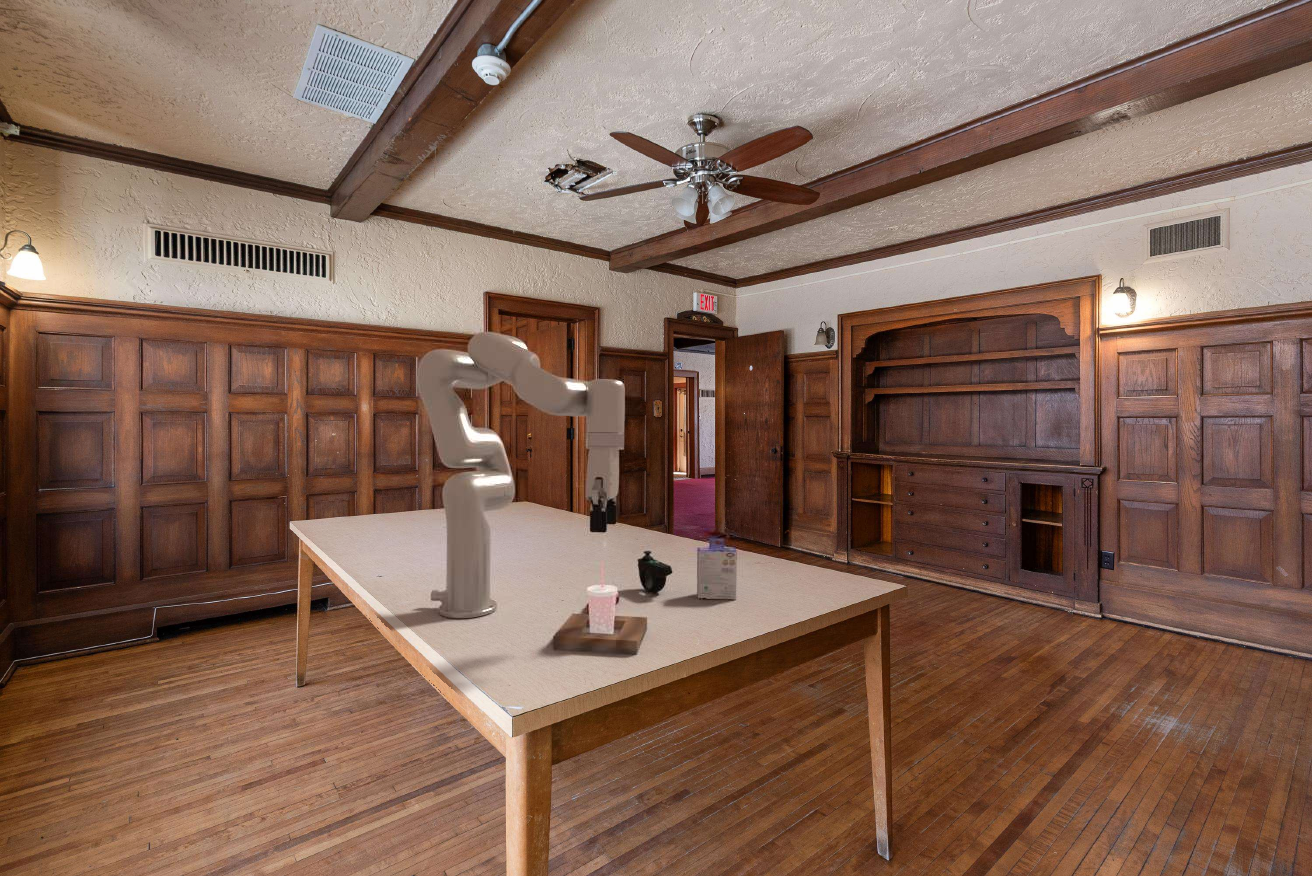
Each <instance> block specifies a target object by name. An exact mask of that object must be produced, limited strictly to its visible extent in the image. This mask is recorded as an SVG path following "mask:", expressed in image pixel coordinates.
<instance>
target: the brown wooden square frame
mask: <svg viewBox="0 0 1312 876" xmlns="http://www.w3.org/2000/svg"><path fill="white" fill-rule="evenodd" d="M647 630H648V617H646V616H630V615H629V616H626V615H615V616H614V630H613V634H605V633H590V621H589V613H575V612H574V613H571V615H570V616H569V617H568V618H567V619H566V621H565V622H564V623H563V624H562V625H561V626H560V628H559V629H558V630H557V631H556V632H555V633H554V635H553V639H552V649H553V650H557V651H558V650H559V651H573V652H574V651H575V652H589V653H593V652H594V653H608V654H623V655H624V654H625V655H638V652H639V650H640V647H641V646H642V643H643V641H644V637H645V635H646V633H647Z"/></svg>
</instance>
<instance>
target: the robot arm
mask: <svg viewBox="0 0 1312 876" xmlns="http://www.w3.org/2000/svg"><path fill="white" fill-rule="evenodd" d="M540 361H541V360H540V359H539V356H538V355H537V354H536V353H535V352H533V351H530V350H529V348H528V347H527V345H526V344H525V342H523V340H522V339H520V338H518V337H516V336H512V335H507V334H503V333H498V332H492V331H483V332H478V333H477V334H475V335H473V337H471V339H470V340H469V341H468V344H467V352H466V351H460V350H455V349H447V348H441V349H440V348H439V349H433V350H430V351H428V352H427V353H425V354H424V355H423V357H422V358H421V359H420V361H419V364H418V365H417V366H418V367H417V370H416V371H417V373H416V386H417V390H418V392H419V396H420V398H421V400H422V403H423V405H424V407H425V409H426V412H427V415H428V418H429V423H430V427H431V431H432V434H433V439H434V442H435V447H436V449H437V453H438V457H439V458H440V462H442V464H443V465H444V466H446V467H447V468H451V469H468V468H475V469H476V470H473V471H472V470H471V471H463V472H459V473H456V474H453V475H451V477H449V478H448V479H447V480H446V481H445V482H444V485H443V488H442V493H441V495H442V496H441V497H442V502H443V507H444V514H445V520H446V522H445V523H446V579H445V580H446V583H445V585H446V586H445V587H446V588H445V590H439V589H432V590H431V592H430V601H431V602H433V601H435V602H437V601H438V602H440V603H441V604H440V605H439V607H438V614H439V615H441V616H442V617H444V618H445V617H446V618H449V619H473V618H478V617H484V616H487V615H490V614H492V613H494V612H495V611H496V610H497V609H498V605H497V604H498V603H497V602H496V601H495V600H494V599H491V550H492V549H491V548H492V547H491V545H492V544H491V538H492V536H491V528H490V525H489V523H488V520H487V518H486V516H485V513H486V512H491V511H496V510H501V509H505V508H507V507H508V506H510V504H511V503H512V502H513V500H514V497H515V493H516V489H515V488H516V485H515V480H514V477H513V473H512V469H511V466H510V462H509V459H508V456H507V453H506V449H505V445H504V443H503V441H502V440H503V439H501V437H500V436H499V435H498V433H497V432H495V431H494V430H493V429H491V428H486V427H474V426H473V424H472V423H471V420H470V417H469V415H468V410H467V408H466V405H465V404H464V401H463V400H462V399H461V398H460V397H459V395H458V394H457V393H456V392H455V390H454V388H460V389H469V390H471V389H472V390H482V389H483V390H484V389H487V388H489V387H492V386H494V385H496V384H499V383H502V382H505V384H508V385H509V386H510V387H511V386H512V388H513V391H514V392H515V393H516V395H517V396H518V397H519V398H520V399H521V400H523V401H524V402H526V403H527V404H528V405H531V406H532V407H534V408H536V409H538V410H540V411H542V412H544V413H546V414H549V415H553V416H564V417H565V416H569V417H578V418H579V417H581V418H582V417H583V418H584V417H586V423H585V425H586V426H585V428H586V429H585V431H586V432H585V449H586V450H588V454H587V455H588V456H587V457H588V458H587V463H586V464H587V466H586V478H585V479H586V482H585V483H586V484H585V498H586V499H587V500H588V501H590V507H589V531H590V532H591V533H602V534H605V533H606V532H607V531H608V528H607V527H608V525H611V526H612V525H616V524H617V514H618V513H617V512H618V511H617V510H618V509H617V508H618V505H617V496H618V493H619V485H620V457H619V456H620V453H619V452H620V451H619V450H621V451H622V450H624V449H625V448H624V447H625V407H626V406H625V404H626V403H625V402H626V401H625V397H626V391H625V390H626V389H625V388H626V387H625V384H624V383H623V382H622V381H621V380H618V379H611V378H597V379H592V380H590V381H588V380H587V381H586V380H580V379H574V378H568V377H561V376H557V375H554V374H552V373H550V372H548V370H547V371H546V370H544V369H543V368H541V362H540Z"/></svg>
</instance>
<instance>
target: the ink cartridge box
mask: <svg viewBox="0 0 1312 876" xmlns="http://www.w3.org/2000/svg"><path fill="white" fill-rule="evenodd" d="M713 542H719V543H713ZM737 553H738V551H737V549H736V548H735V547H734V546H733V547H729V546H728V547H726V546H725V543H724V538H717V537H716V538H709V545H708V546H706V547H697V553H696V554H697V556H696V557H697V559H696V560H697V563H696V564H697V567H696V569H697V571H696V572H697V573H696V578H697V580H696V581H697V583H696V598H697V599H698V598H701V600H703V599H702V598H706V599H705V600H737V574H738V573H737V564H738V563H737V561H738V560H737V559H738V554H737Z"/></svg>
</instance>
